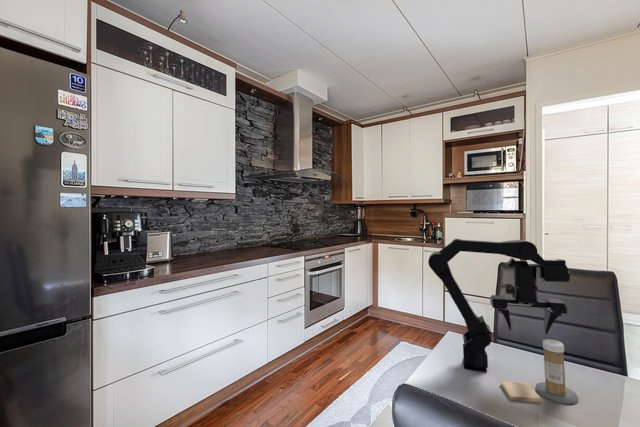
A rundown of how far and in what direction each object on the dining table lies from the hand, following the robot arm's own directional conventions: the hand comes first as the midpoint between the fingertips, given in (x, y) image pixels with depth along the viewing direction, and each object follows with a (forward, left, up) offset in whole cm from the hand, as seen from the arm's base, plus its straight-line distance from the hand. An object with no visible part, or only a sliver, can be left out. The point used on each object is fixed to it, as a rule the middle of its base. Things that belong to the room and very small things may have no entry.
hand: (527, 331), depth 89 cm
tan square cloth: (-5, -12, -13) cm, 18 cm away
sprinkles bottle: (+4, -9, -13) cm, 16 cm away
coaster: (+4, -9, -13) cm, 16 cm away
